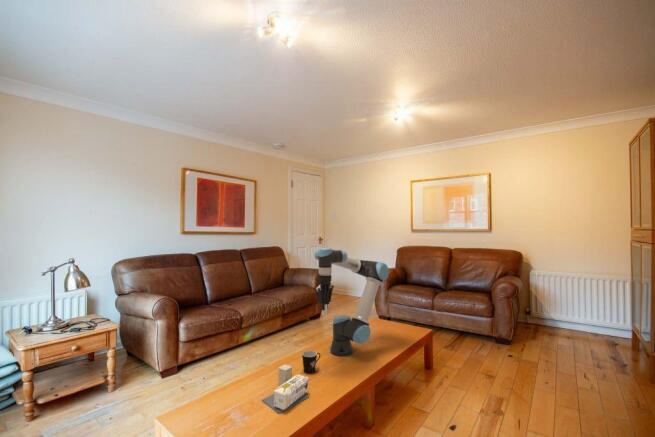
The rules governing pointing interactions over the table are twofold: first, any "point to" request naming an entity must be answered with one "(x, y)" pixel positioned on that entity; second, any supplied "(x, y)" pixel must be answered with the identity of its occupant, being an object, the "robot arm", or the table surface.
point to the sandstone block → (284, 374)
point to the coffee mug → (309, 361)
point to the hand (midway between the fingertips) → (324, 315)
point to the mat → (270, 403)
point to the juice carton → (290, 391)
